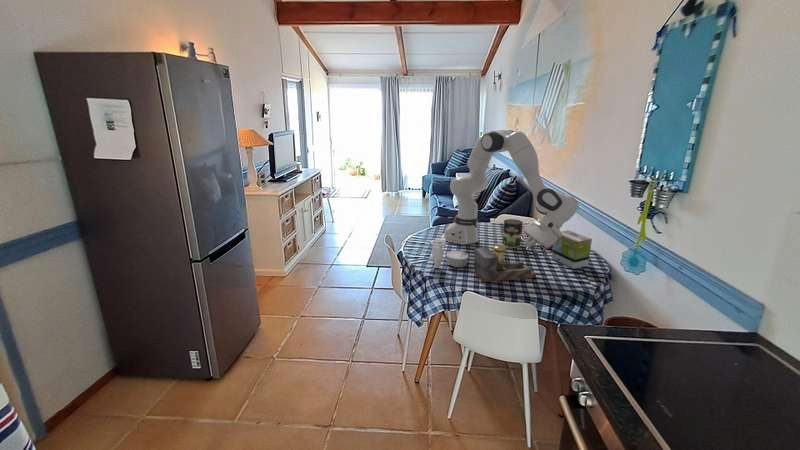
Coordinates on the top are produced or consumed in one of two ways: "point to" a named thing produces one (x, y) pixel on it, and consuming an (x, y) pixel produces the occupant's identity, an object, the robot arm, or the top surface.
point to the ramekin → (457, 258)
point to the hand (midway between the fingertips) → (526, 246)
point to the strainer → (438, 252)
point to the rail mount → (488, 265)
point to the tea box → (572, 249)
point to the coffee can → (512, 233)
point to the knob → (499, 256)
